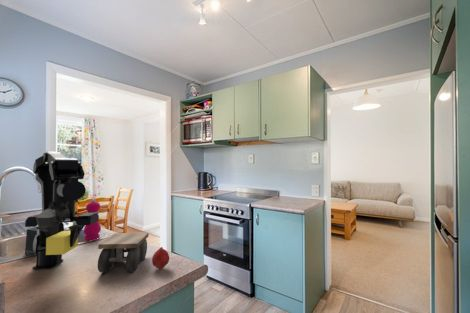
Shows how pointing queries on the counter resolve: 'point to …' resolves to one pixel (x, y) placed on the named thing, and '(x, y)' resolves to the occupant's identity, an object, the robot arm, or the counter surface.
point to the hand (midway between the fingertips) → (62, 246)
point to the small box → (30, 241)
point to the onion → (160, 258)
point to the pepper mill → (94, 228)
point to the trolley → (122, 250)
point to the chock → (59, 243)
